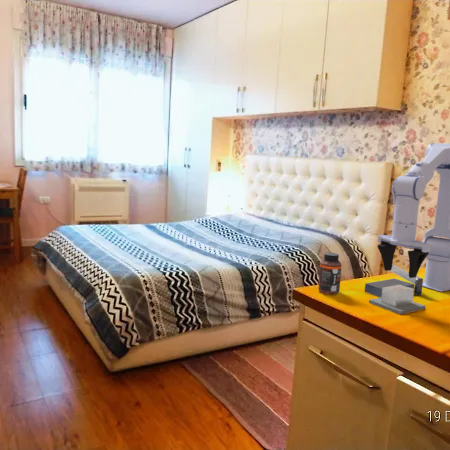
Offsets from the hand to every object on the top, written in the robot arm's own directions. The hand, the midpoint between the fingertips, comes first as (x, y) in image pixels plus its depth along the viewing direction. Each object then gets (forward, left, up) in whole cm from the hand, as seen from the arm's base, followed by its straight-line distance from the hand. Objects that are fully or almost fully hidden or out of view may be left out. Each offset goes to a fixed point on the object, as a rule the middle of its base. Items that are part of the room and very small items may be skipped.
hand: (399, 273), depth 117 cm
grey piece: (-8, -9, -9) cm, 15 cm away
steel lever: (-17, -11, -9) cm, 22 cm away
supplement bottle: (+8, -17, -9) cm, 21 cm away
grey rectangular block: (0, 0, -8) cm, 8 cm away
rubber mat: (0, 0, -9) cm, 9 cm away
